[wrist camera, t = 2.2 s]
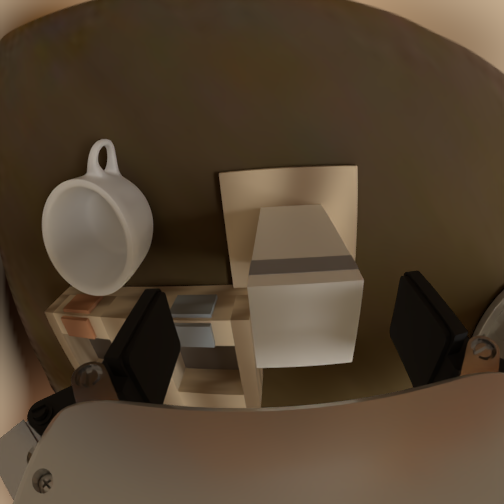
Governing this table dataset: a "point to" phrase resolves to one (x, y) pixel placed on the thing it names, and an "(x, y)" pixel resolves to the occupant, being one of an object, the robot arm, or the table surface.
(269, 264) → the plug
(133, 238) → the teacup
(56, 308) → the socket board
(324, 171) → the mat
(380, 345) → the table surface
